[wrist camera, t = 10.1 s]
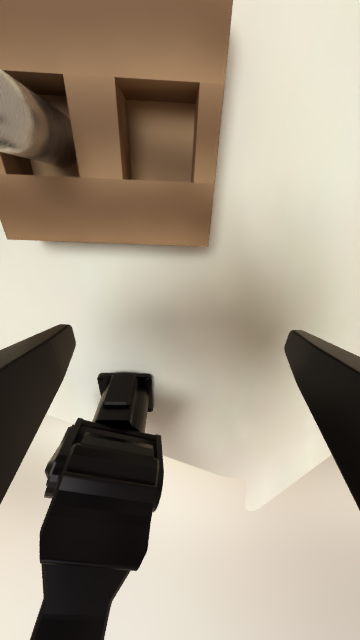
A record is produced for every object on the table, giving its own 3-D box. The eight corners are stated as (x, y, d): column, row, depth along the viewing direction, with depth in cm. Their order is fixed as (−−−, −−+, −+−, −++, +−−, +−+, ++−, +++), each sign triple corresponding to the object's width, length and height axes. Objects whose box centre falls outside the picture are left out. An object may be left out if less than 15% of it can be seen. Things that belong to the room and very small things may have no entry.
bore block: (202, 238, 18) (208, 246, 15) (35, 231, 18) (7, 239, 15) (221, 17, 12) (237, -41, 9) (-30, -1, 12) (-101, -69, 9)
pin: (84, 168, 15) (6, 146, 8) (41, 165, 15) (-74, 140, 8) (76, 111, 14) (-27, 27, 7) (28, 107, 14) (-125, 18, 7)
